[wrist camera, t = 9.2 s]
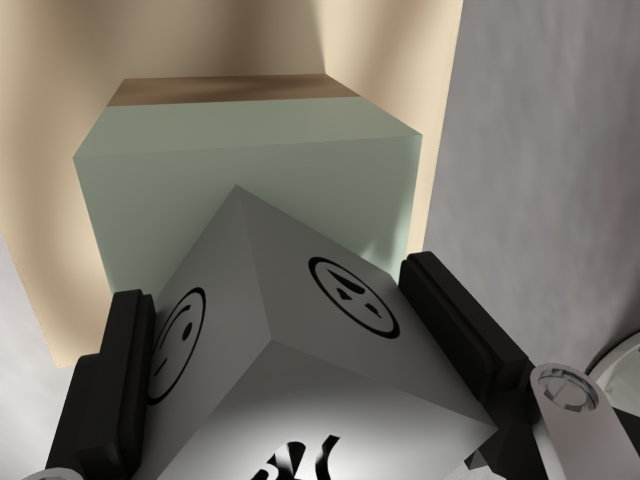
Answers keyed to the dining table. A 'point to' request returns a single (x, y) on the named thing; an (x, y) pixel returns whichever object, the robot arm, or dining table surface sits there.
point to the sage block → (244, 178)
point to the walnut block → (227, 89)
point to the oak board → (172, 62)
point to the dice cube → (296, 364)
